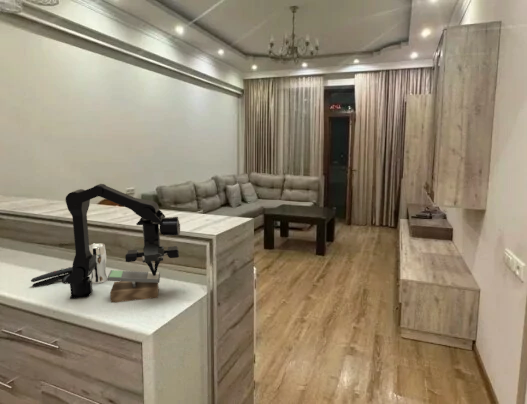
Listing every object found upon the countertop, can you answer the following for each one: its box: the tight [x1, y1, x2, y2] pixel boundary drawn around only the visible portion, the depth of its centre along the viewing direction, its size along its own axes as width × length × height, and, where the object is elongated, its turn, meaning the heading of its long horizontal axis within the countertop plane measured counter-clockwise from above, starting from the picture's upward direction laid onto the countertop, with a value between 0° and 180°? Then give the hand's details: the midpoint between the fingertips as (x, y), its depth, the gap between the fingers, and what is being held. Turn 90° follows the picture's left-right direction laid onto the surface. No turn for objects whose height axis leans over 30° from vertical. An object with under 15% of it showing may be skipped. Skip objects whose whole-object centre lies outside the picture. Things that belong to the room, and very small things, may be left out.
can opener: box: [30, 266, 72, 288], centre depth 144 cm, size 18×7×6 cm, turn 119°
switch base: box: [110, 281, 159, 303], centre depth 133 cm, size 16×9×6 cm, turn 104°
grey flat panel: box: [106, 269, 161, 284], centre depth 133 cm, size 18×7×2 cm, turn 105°
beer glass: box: [89, 243, 108, 285], centre depth 145 cm, size 7×7×15 cm
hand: (154, 275), depth 134 cm, fingers closed, pressing on grey flat panel
